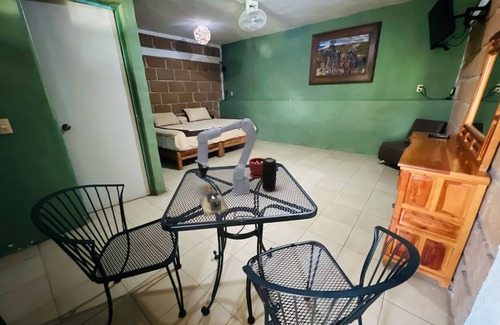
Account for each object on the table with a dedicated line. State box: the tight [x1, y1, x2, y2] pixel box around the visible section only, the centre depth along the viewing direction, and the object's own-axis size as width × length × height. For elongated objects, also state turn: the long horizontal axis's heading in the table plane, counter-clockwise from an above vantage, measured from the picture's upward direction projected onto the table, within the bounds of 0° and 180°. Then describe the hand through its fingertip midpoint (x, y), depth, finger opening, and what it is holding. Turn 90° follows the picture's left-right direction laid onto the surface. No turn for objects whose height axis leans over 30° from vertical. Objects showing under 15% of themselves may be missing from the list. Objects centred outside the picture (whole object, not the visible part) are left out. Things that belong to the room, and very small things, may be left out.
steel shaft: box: [204, 184, 217, 204], centre depth 110 cm, size 4×18×4 cm, turn 22°
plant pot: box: [248, 157, 265, 179], centre depth 145 cm, size 13×13×12 cm
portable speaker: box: [261, 157, 277, 193], centre depth 123 cm, size 9×9×20 cm
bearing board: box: [199, 189, 229, 217], centre depth 107 cm, size 12×16×7 cm
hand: (202, 175), depth 119 cm, fingers open, 7 cm apart
